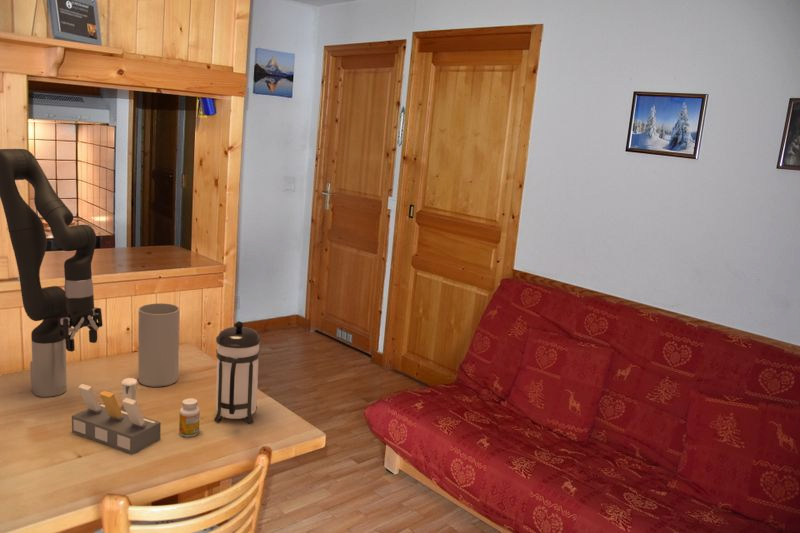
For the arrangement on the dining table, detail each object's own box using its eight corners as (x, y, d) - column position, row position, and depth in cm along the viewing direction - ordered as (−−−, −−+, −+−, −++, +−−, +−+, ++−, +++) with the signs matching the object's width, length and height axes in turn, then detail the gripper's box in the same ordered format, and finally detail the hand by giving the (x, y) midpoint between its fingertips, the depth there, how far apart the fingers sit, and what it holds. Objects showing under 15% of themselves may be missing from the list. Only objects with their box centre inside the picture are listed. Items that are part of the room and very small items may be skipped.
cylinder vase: (163, 370, 227) (164, 301, 222) (185, 380, 220) (187, 309, 215) (130, 379, 217) (130, 307, 212) (153, 391, 210) (153, 316, 205)
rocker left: (87, 410, 183) (76, 386, 178) (91, 406, 184) (80, 383, 179) (99, 414, 181) (88, 390, 176) (102, 410, 182) (92, 387, 178)
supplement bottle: (178, 429, 187) (178, 398, 185) (198, 427, 189) (198, 396, 187) (180, 438, 182) (180, 406, 180) (200, 436, 184) (200, 404, 182)
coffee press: (197, 414, 197) (199, 319, 191) (242, 401, 209) (246, 311, 203) (229, 436, 186) (232, 336, 180) (275, 420, 198) (280, 326, 191)
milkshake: (134, 412, 195) (134, 380, 193) (118, 409, 196) (117, 377, 194) (143, 406, 200) (143, 375, 197) (127, 403, 201) (127, 372, 198)
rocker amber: (108, 417, 180) (98, 393, 175) (112, 413, 181) (102, 390, 176) (120, 421, 178) (110, 397, 173) (124, 417, 179) (114, 394, 175)
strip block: (71, 432, 180) (71, 415, 179) (101, 419, 189) (101, 402, 188) (132, 454, 172) (132, 436, 171) (160, 438, 181) (160, 421, 180)
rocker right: (130, 424, 177) (121, 400, 172) (134, 421, 178) (125, 397, 173) (143, 429, 175) (133, 404, 170) (147, 425, 176) (137, 401, 172)
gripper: (87, 287, 198) (90, 338, 201) (49, 297, 185) (52, 352, 188) (107, 289, 196) (110, 341, 199) (70, 300, 182) (73, 355, 186)
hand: (82, 346), depth 193 cm, fingers open, 8 cm apart
